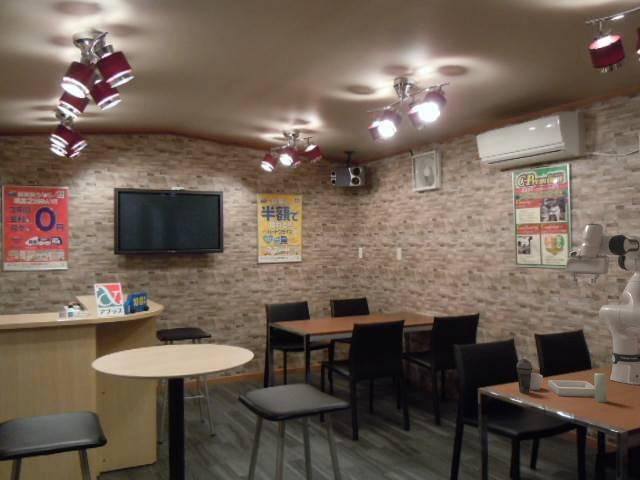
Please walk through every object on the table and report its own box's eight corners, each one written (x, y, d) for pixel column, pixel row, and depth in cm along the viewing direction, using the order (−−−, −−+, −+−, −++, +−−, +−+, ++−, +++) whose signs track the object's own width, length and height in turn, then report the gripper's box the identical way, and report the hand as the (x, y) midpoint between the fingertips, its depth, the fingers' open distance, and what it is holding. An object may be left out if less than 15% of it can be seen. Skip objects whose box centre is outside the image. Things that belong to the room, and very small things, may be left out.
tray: (586, 388, 269) (586, 381, 269) (599, 396, 253) (599, 389, 253) (548, 387, 271) (548, 380, 271) (558, 395, 255) (558, 388, 255)
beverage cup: (533, 394, 257) (533, 351, 258) (517, 393, 259) (517, 351, 259) (531, 390, 264) (530, 348, 265) (515, 389, 266) (515, 348, 266)
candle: (521, 389, 267) (521, 376, 267) (524, 385, 275) (524, 372, 275) (541, 391, 263) (541, 378, 263) (543, 387, 271) (543, 374, 271)
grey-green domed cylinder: (604, 399, 248) (603, 373, 249) (608, 402, 243) (608, 375, 244) (592, 399, 249) (592, 372, 249) (596, 402, 244) (596, 375, 244)
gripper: (613, 257, 261) (608, 285, 258) (573, 257, 278) (568, 283, 275) (606, 253, 257) (601, 281, 255) (566, 253, 275) (561, 279, 272)
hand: (583, 282), depth 265 cm, fingers open, 8 cm apart
